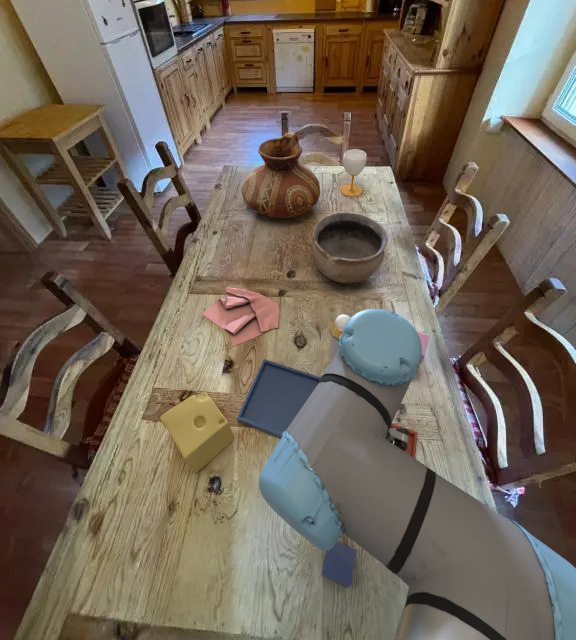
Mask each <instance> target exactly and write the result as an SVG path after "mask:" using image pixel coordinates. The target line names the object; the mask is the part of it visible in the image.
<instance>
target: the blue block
mask: <svg viewBox="0 0 576 640" xmlns="http://www.w3.org/2000/svg"><path fill="white" fill-rule="evenodd" d="M357 552H358V550H357V549H356V548H353V547H352V546H349V545H348V544H347V545H346V543H342V542H341V541H338V540H337V542H336V544H335V546H334V547H333V548H332V549H331V550H329V551H325V553H324V554H325V555H324V560H323V563H322V568H321V573H320V576H322V577H324V578H325V579H328V580H330V581H332V582H334V583H336V584H338V585H340V586H342V587H344V588H350V587H352V586H351V584H352V579H353V575H354V568H355V562H356V556H357Z"/></svg>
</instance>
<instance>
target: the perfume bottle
mask: <svg viewBox="0 0 576 640" xmlns="http://www.w3.org/2000/svg"><path fill="white" fill-rule="evenodd" d="M350 318H351V317H350V315H348V314H346V313H345V314H343V313H341V314H339V315H338V316H337V317H336V318H334V319H332V321H331V322H330V324H329V333H330V336H331V338H330V348H329V357H328V365H329V364H330V363H331V361H332V360H333V358H334V357H335V355H336V354H337V352H338V350H339V347H338V343H339V338H340V336H341V335H342V332H343V328H344V326H345V324H346V322H347V321H348V320H349V319H350Z"/></svg>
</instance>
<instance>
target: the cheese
mask: <svg viewBox="0 0 576 640" xmlns="http://www.w3.org/2000/svg"><path fill="white" fill-rule="evenodd" d="M214 402H215V401H213V399H212V397H210V396H209V394H208V393H207V391H202V392H201V393H199V394H192V395H191V396H189V397H187V398H186V399H184V400H183V401H181V402H179V403H178V404H176V405H175V406H173V407H172V408H170V409H168V410H167V411H165V412H164V413H163V414H162V415H161V416H160V417H159V420H160V422H161V424H162V425H163V426H164V428H165V429H166V430H167V431H168V433H169V434H170V436H171V438H172V439H173V441H174V444H175V445H176V447H177V448H178V450H179V452H180V454H181V456H182V457H183V459H184V461H185V463H187V465H188V466H189V467H190V469H191V470H192V471H193V472H194V473H195V474H196V473H198V472H199V471H201V470H202V469H203V468H204V467H205V466H206V465H208V463H210V462H211V461H212V460H213V459H214V458H215V457H216V456H217V455H219V453H221V452H222V451H223V450H224V449H225V448H227V447H229V445H230V444H231V443H233V442H234V441H235V440H236V439H235V435H234V433H233V431H232V427H231V425H230V424H229V421H228V420H227V419H226V416H224V415H223V413H222V412H221V411H220V410H219V408H218V406H217V405H216V403H214Z"/></svg>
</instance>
